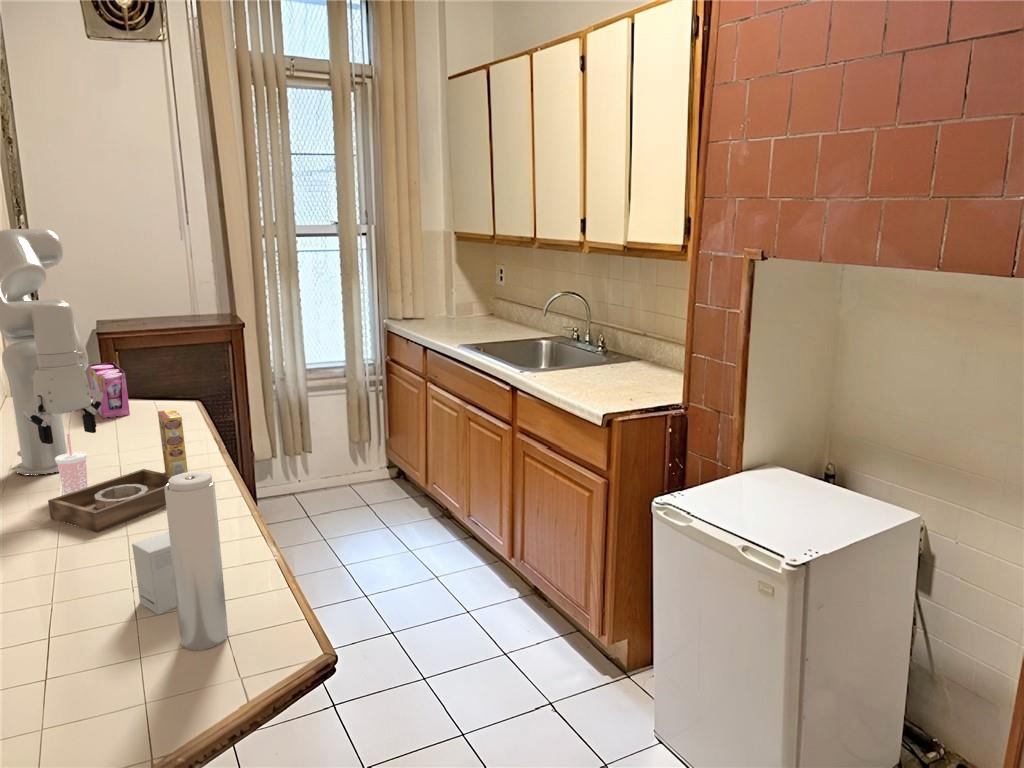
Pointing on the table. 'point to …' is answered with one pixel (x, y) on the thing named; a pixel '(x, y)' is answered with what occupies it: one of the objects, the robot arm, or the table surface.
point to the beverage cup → (72, 470)
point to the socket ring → (118, 494)
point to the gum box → (110, 389)
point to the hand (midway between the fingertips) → (69, 437)
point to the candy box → (172, 442)
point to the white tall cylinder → (196, 560)
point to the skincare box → (155, 573)
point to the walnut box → (85, 515)
